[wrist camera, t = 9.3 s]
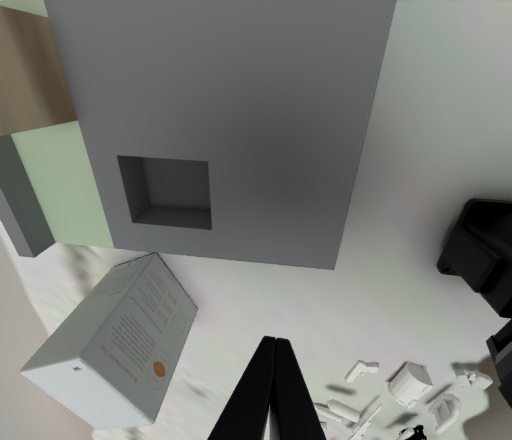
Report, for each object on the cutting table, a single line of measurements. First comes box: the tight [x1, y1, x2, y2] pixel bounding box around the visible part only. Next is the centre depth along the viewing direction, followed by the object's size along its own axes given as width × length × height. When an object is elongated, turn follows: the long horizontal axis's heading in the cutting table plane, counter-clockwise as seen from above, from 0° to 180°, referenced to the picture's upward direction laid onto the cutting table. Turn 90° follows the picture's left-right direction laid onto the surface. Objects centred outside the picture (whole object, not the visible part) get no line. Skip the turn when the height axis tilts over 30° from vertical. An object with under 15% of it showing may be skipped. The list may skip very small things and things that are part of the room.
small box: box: [20, 253, 198, 430], centre depth 22 cm, size 8×6×10 cm
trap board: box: [0, 0, 396, 270], centre depth 14 cm, size 23×24×5 cm
